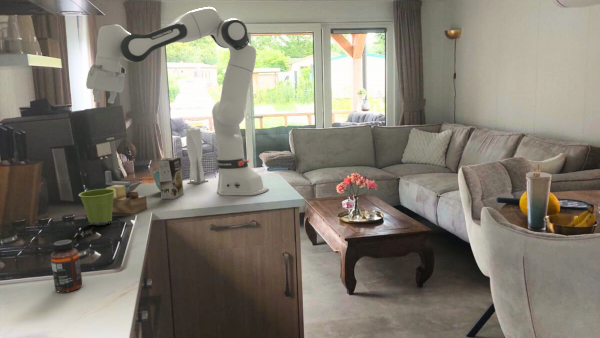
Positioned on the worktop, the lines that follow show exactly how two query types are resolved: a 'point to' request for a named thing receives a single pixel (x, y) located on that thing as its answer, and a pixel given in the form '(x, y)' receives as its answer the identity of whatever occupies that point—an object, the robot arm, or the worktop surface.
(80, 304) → the worktop surface
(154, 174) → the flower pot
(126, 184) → the cam lever
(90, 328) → the worktop surface
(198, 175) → the skyscraper
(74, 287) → the supplement bottle
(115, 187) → the pale yellow block
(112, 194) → the plant pot
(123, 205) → the plane body
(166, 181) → the coffee box
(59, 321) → the worktop surface
